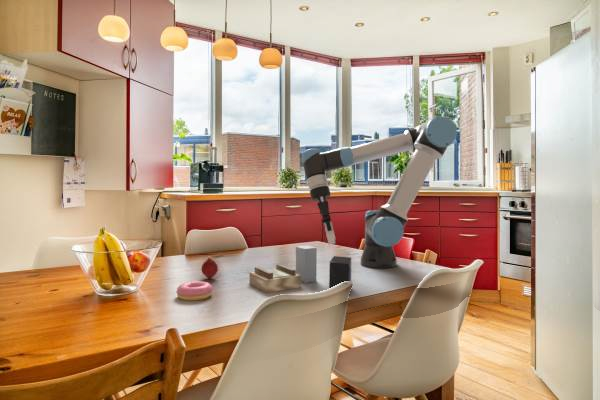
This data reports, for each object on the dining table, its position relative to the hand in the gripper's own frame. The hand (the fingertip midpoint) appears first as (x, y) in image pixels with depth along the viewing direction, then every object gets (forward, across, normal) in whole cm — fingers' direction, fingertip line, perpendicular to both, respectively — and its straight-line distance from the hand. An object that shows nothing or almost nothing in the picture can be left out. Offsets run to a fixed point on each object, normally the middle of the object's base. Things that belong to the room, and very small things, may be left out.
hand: (332, 242), depth 150 cm
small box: (+18, +16, -2) cm, 24 cm away
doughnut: (+10, +26, -46) cm, 53 cm away
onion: (+3, +4, -47) cm, 47 cm away
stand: (+11, +11, -23) cm, 28 cm away
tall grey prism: (+12, +3, -12) cm, 17 cm away
